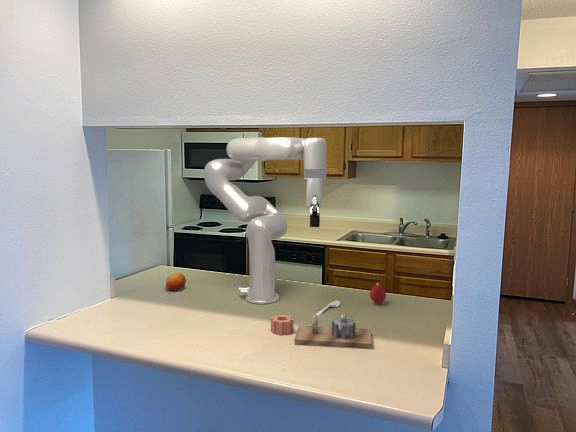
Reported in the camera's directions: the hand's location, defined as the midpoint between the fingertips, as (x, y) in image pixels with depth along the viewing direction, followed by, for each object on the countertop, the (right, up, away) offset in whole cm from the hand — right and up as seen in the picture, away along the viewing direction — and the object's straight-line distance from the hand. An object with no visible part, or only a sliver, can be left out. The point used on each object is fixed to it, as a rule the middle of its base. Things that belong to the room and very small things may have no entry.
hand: (314, 224), depth 155 cm
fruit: (-55, -27, +29) cm, 67 cm away
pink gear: (-11, -33, -14) cm, 37 cm away
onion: (+24, -30, +11) cm, 39 cm away
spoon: (+4, -31, +4) cm, 31 cm away
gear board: (+4, -34, -20) cm, 39 cm away
